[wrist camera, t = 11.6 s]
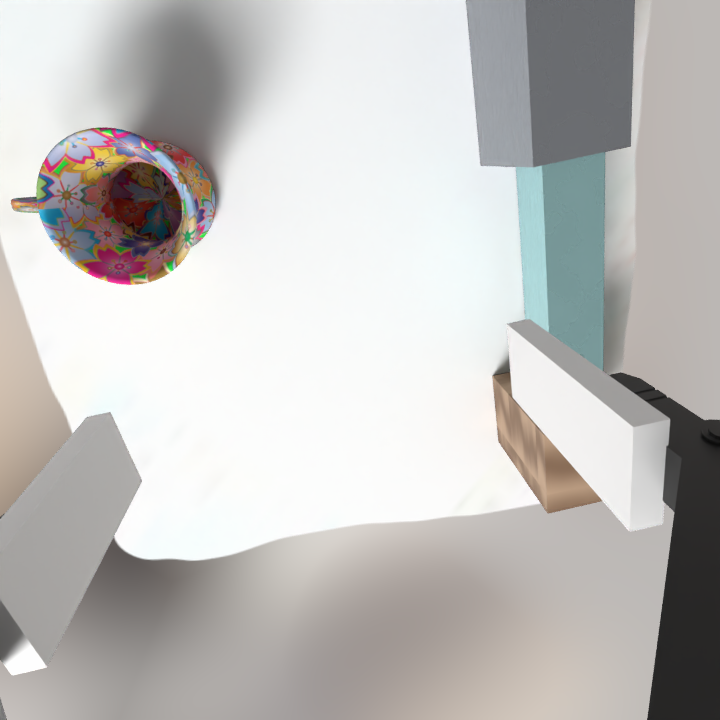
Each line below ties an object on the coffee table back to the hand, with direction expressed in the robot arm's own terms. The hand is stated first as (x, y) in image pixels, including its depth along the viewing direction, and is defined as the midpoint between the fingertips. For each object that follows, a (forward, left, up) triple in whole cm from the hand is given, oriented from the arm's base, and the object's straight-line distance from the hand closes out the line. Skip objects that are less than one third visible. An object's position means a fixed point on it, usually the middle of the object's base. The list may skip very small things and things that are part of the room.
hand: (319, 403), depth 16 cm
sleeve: (-12, +19, -29) cm, 36 cm away
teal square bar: (+7, +19, -25) cm, 32 cm away
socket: (+20, +19, -29) cm, 40 cm away
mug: (-7, -12, -29) cm, 32 cm away
